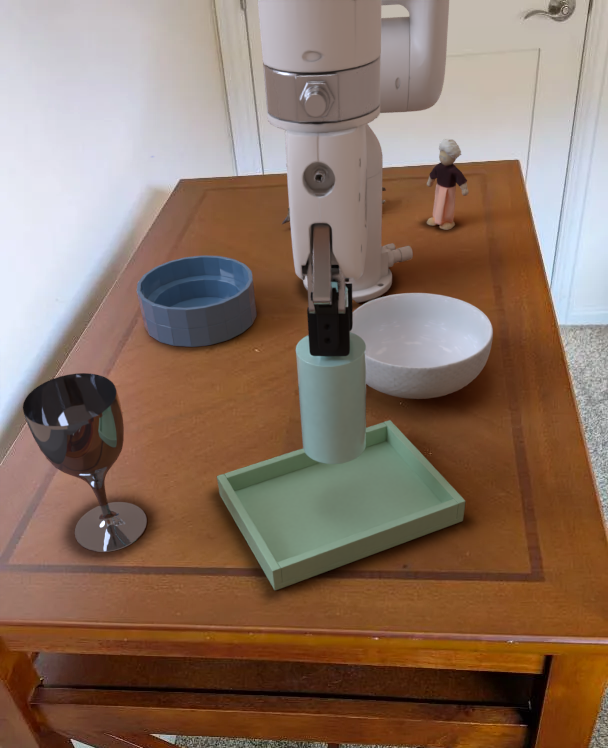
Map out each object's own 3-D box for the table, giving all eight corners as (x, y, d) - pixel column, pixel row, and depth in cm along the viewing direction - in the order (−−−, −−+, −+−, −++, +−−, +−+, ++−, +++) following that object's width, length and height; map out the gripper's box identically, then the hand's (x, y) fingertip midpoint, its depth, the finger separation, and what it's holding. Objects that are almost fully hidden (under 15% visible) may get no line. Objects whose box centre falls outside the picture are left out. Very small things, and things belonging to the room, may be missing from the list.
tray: (389, 439, 83) (390, 419, 81) (463, 521, 74) (465, 500, 72) (219, 495, 78) (216, 475, 76) (274, 591, 69) (272, 571, 67)
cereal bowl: (470, 433, 83) (477, 376, 78) (325, 409, 88) (322, 354, 83) (498, 352, 94) (505, 299, 89) (368, 335, 99) (368, 283, 94)
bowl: (234, 287, 111) (228, 246, 107) (273, 333, 101) (269, 290, 97) (133, 313, 107) (124, 272, 103) (164, 363, 97) (155, 320, 93)
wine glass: (75, 503, 79) (31, 377, 68) (153, 496, 79) (120, 369, 68) (65, 559, 73) (14, 430, 62) (148, 550, 73) (112, 421, 63)
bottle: (348, 419, 73) (345, 267, 63) (377, 452, 69) (379, 296, 59) (292, 436, 72) (279, 284, 61) (318, 471, 68) (310, 315, 57)
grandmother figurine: (416, 225, 122) (420, 139, 114) (427, 216, 125) (432, 131, 116) (460, 234, 119) (467, 147, 110) (471, 225, 121) (479, 139, 112)
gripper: (375, 129, 44) (373, 399, 57) (384, 56, 56) (380, 294, 68) (246, 133, 45) (273, 398, 58) (281, 60, 56) (297, 294, 69)
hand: (331, 340), depth 63 cm, fingers closed on bottle, 3 cm apart
